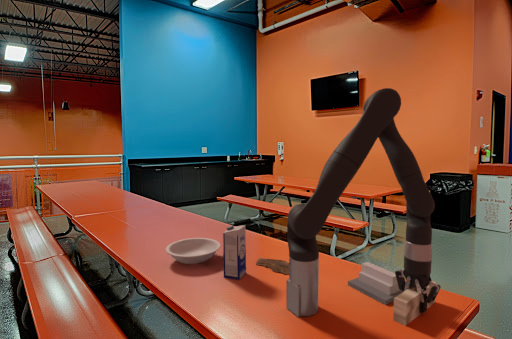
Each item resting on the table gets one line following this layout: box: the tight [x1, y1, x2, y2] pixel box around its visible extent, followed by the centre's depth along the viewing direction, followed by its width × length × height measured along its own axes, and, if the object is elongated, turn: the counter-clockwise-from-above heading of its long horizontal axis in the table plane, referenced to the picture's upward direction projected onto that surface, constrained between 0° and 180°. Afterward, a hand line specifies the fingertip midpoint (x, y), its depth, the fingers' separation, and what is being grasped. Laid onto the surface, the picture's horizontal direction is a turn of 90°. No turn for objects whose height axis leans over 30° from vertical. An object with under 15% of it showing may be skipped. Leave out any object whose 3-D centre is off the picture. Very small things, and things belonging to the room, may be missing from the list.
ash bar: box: [392, 280, 437, 327], centre depth 96 cm, size 20×4×7 cm, turn 128°
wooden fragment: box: [255, 257, 289, 276], centre depth 130 cm, size 26×11×1 cm, turn 45°
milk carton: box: [222, 224, 247, 281], centre depth 122 cm, size 7×7×20 cm
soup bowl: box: [165, 237, 222, 265], centre depth 138 cm, size 24×24×7 cm
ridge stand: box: [347, 261, 403, 306], centre depth 110 cm, size 14×16×8 cm
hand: (415, 308), depth 97 cm, fingers closed on ash bar, 4 cm apart
